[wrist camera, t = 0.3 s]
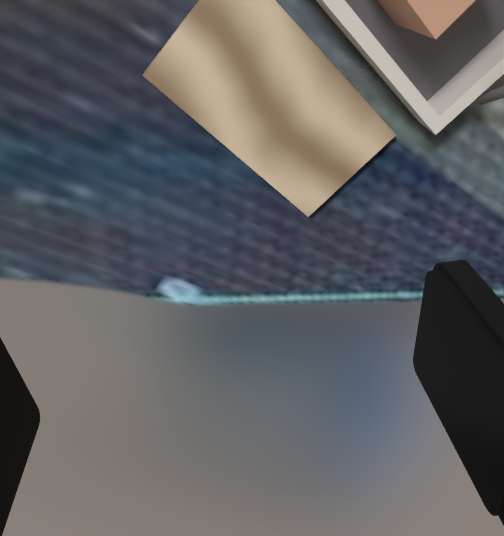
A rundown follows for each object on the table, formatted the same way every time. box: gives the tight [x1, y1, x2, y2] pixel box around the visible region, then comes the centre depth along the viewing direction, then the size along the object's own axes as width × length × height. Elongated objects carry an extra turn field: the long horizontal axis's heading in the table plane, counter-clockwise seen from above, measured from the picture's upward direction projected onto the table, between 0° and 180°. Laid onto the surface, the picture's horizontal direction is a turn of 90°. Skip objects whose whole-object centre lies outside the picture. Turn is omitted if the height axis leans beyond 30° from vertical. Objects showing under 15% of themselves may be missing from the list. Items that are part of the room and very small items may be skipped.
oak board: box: [143, 0, 396, 217], centre depth 36 cm, size 10×18×1 cm, turn 47°
